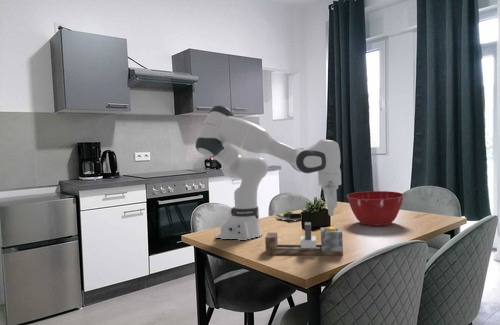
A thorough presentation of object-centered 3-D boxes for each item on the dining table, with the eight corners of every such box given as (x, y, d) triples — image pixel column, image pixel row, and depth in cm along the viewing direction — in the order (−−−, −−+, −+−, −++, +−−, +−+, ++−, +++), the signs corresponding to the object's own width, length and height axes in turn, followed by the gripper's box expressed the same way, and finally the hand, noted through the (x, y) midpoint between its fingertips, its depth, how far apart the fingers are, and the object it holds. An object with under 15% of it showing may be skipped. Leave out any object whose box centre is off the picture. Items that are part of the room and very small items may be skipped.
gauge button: (326, 240, 141) (326, 229, 141) (326, 237, 145) (325, 226, 144) (336, 240, 140) (336, 229, 140) (336, 237, 144) (335, 226, 144)
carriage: (300, 248, 141) (299, 225, 141) (301, 243, 148) (300, 221, 148) (316, 248, 140) (315, 225, 140) (316, 243, 147) (315, 221, 147)
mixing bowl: (357, 231, 174) (356, 199, 173) (341, 219, 202) (340, 192, 202) (415, 228, 175) (414, 196, 174) (390, 216, 203) (389, 189, 202)
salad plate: (267, 220, 212) (267, 212, 212) (285, 214, 225) (285, 207, 225) (294, 223, 199) (294, 215, 199) (312, 217, 212) (311, 210, 212)
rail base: (266, 254, 143) (264, 232, 143) (268, 249, 151) (267, 227, 151) (343, 255, 138) (342, 232, 138) (341, 249, 146) (340, 227, 145)
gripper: (340, 183, 131) (341, 220, 132) (336, 177, 151) (337, 210, 152) (322, 183, 132) (324, 220, 133) (320, 178, 152) (322, 210, 153)
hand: (331, 215), depth 142 cm, fingers closed
